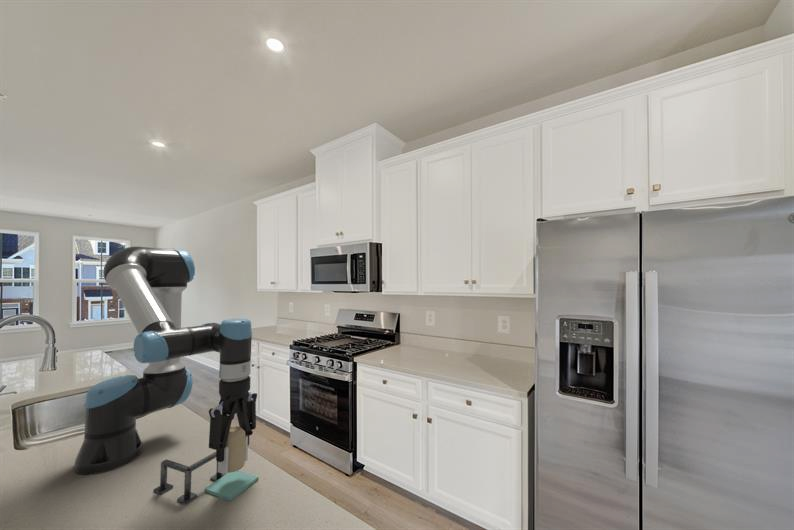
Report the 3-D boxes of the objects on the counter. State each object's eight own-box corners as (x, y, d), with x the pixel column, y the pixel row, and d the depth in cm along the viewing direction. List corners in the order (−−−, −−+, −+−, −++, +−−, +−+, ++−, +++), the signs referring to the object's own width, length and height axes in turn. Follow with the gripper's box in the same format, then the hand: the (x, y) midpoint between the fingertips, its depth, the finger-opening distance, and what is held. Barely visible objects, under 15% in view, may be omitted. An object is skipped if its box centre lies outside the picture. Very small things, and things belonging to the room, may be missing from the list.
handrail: (153, 491, 83) (154, 462, 83) (197, 466, 94) (198, 440, 94) (185, 504, 78) (186, 472, 78) (227, 476, 89) (228, 448, 90)
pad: (204, 491, 83) (204, 488, 83) (233, 472, 91) (233, 469, 91) (230, 501, 80) (230, 497, 80) (258, 479, 88) (258, 476, 88)
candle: (229, 475, 82) (229, 435, 82) (217, 468, 85) (218, 429, 85) (248, 465, 86) (249, 427, 87) (236, 458, 89) (237, 422, 90)
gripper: (214, 390, 76) (211, 490, 75) (271, 369, 94) (269, 451, 93) (192, 386, 79) (189, 483, 78) (251, 367, 96) (249, 446, 95)
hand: (233, 465), depth 85 cm, fingers closed on candle, 5 cm apart
